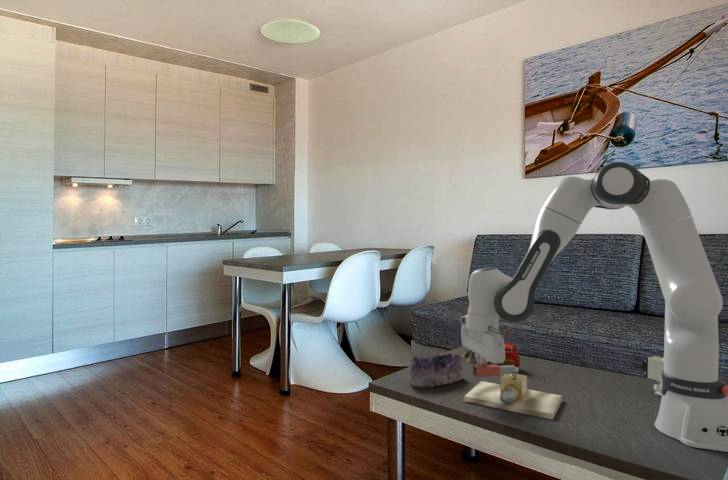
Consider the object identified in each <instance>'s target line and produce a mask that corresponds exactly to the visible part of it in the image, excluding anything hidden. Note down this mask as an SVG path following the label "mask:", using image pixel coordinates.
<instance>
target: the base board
mask: <svg viewBox="0 0 728 480" xmlns="http://www.w3.org/2000/svg"><path fill="white" fill-rule="evenodd" d="M463 399H464V400H463V401H464V402H466V403H471V404H476V405H481V406H485V407H488V408H489V407H490V408H495V409H500V410H505V411H509V412H514V413H519V414H524V415H529V416H534V417H538V418H543V419H549V420H552V421H553V420H554V418H555V416H556V414H557V411H558V410H559V408H560V406H561V404H562V401H563V395H560V394H554V393H551V392H545V391H544V392H543V391H540V390H539V391H538V390H533V389H527V395H526V396H525V397H524V399H523V400H522V401H517V400H516V402H512V403H511V404H510V405H506V404H504V403H503V402H502V401H501V399H500V384H499V383H494V382H488V381H483V380H480V381H479V382H478V383H477V384H476V385H475V386H474V387H473V388H471V390H470V391H469V392H468V393H466V394H465V395H464V398H463Z"/></svg>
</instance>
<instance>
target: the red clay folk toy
mask: <svg viewBox="0 0 728 480" xmlns="http://www.w3.org/2000/svg"><path fill="white" fill-rule="evenodd" d="M507 327H508V328H507V330H506V329H502V333H506V332H507V338H508V339H507V344H505V361H504V362H503V363H497V365H498V366H506V365H513V366H515V367H518V368H519V369H520V367H521V361H520V359H521V358H520V354H519V352H518V350H517V346H516V345H515V344H511V341H510V338H511V335H510V330H511V329H510V326H509V325H508V326H507Z"/></svg>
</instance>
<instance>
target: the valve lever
mask: <svg viewBox="0 0 728 480" xmlns="http://www.w3.org/2000/svg"><path fill="white" fill-rule="evenodd" d="M472 369H473V370H472V375H474V376H475V377H476V378H482V377H500V375H504V374H511V376H513V377H516V376H517V374H518V373H519V372H520V371H519V369H520V367H519V368H518V367H515V366H513V365H506V366H498V364H486V365H477V364H474V365H473V366H472Z"/></svg>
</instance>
